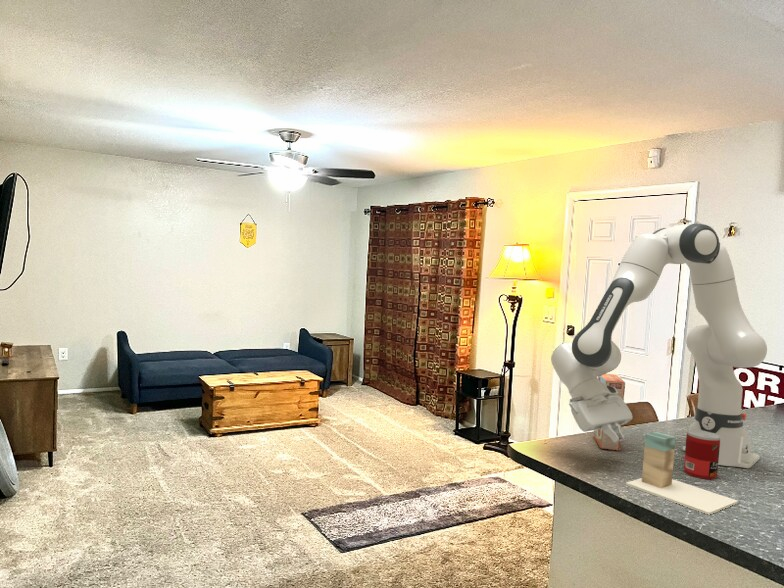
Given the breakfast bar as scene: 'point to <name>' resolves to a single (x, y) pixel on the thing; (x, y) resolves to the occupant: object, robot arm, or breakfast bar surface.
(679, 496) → the felt mat
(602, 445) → the cracker box
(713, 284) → the robot arm
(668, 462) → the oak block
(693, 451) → the canned food
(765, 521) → the breakfast bar surface
